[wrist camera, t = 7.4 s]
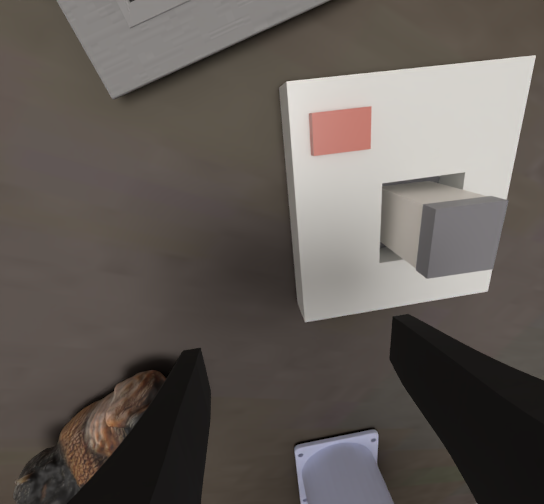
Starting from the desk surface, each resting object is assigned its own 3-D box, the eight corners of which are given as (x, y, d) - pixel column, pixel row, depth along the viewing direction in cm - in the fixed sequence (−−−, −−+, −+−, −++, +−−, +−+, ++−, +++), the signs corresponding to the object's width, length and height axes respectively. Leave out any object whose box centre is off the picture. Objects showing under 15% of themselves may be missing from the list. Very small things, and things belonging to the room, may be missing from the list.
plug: (423, 232, 21) (492, 269, 15) (374, 238, 21) (426, 279, 15) (429, 179, 20) (508, 200, 14) (376, 186, 19) (436, 209, 14)
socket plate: (463, 275, 23) (494, 295, 20) (297, 302, 22) (307, 327, 19) (497, 64, 18) (547, 52, 15) (278, 87, 17) (288, 79, 14)
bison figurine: (208, 353, 23) (61, 328, 20) (206, 443, 17) (-9, 425, 14) (169, 455, 27) (41, 446, 24) (156, 559, 21) (-21, 565, 18)
